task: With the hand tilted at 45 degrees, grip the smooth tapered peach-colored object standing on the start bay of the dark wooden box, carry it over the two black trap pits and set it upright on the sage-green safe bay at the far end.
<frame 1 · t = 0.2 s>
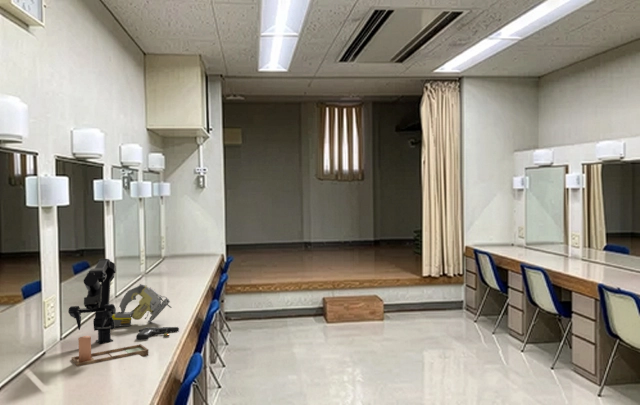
hand: (90, 328, 220), 14 cm above the counter, tool tilted 35°, fingers open, 9 cm apart
smooth tapered peach-colored object: (85, 360, 216), point 1 cm above the counter, touching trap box
circular saw: (141, 323, 285), on the counter
pistol: (157, 336, 260), on the counter
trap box: (110, 359, 223), on the counter
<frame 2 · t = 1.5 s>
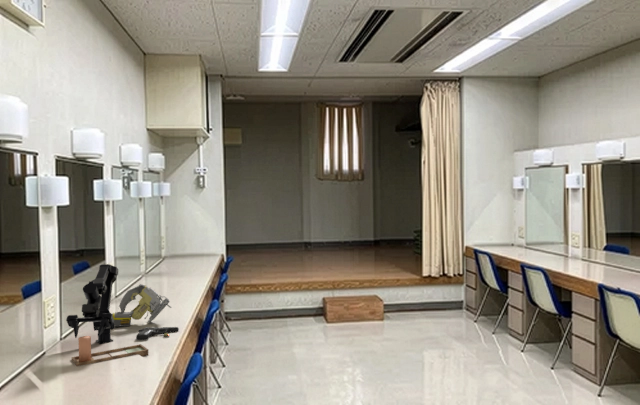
hand: (87, 336, 220), 11 cm above the counter, tool tilted 45°, fingers open, 9 cm apart
nothing on the counter moved.
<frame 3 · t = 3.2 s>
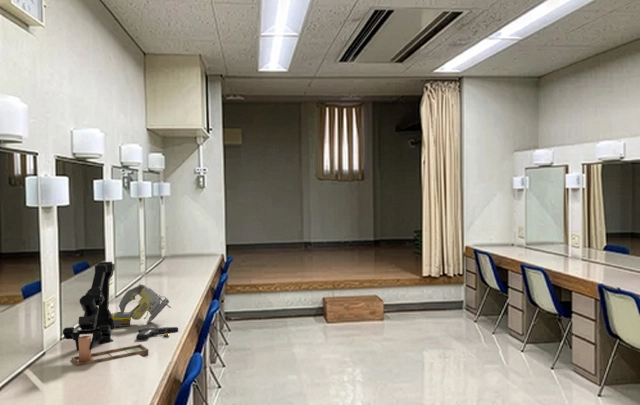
hand: (83, 349, 215), 7 cm above the counter, tool tilted 45°, fingers closed on smooth tapered peach-colored object, 5 cm apart
smooth tapered peach-colored object: (85, 360, 216), point 2 cm above the counter, touching gripper, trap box
everything else where it was.
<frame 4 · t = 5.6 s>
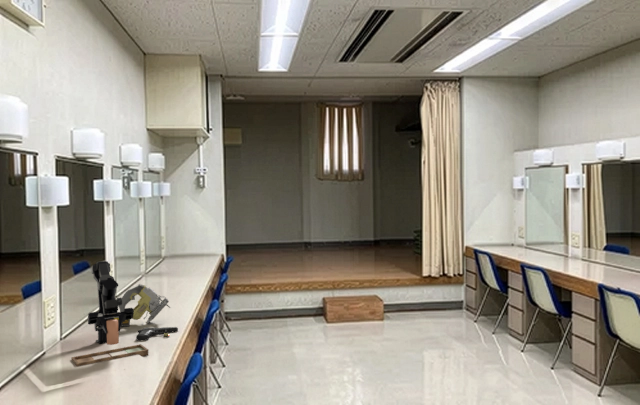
hand: (113, 332, 220), 12 cm above the counter, tool tilted 45°, fingers closed on smooth tapered peach-colored object, 5 cm apart
smooth tapered peach-colored object: (112, 343, 221), point 7 cm above the counter, touching gripper
everything else where it was.
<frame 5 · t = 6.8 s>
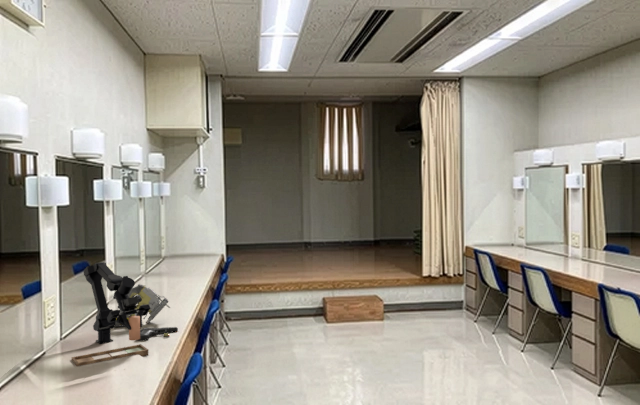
hand: (136, 328, 228), 12 cm above the counter, tool tilted 45°, fingers closed on smooth tapered peach-colored object, 5 cm apart
smooth tapered peach-colored object: (134, 338, 229), point 7 cm above the counter, touching gripper
everything else where it was.
when the fingers open (8 cm above the counter, at t = 8.0 s): smooth tapered peach-colored object drops 1 cm, resting on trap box.
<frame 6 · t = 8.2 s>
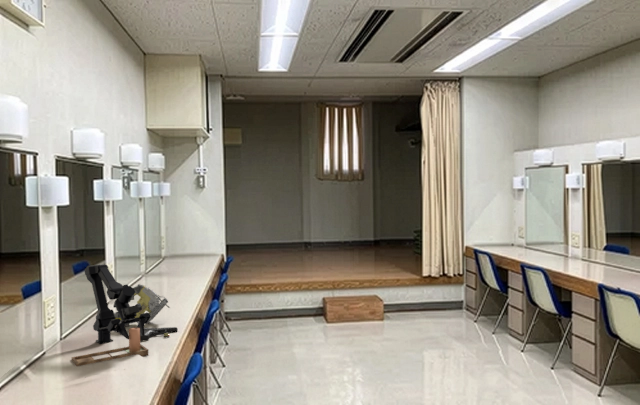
hand: (136, 337, 228), 8 cm above the counter, tool tilted 45°, fingers open, 7 cm apart
smooth tapered peach-colored object: (134, 350, 229), point 2 cm above the counter, touching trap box
everything else where it was.
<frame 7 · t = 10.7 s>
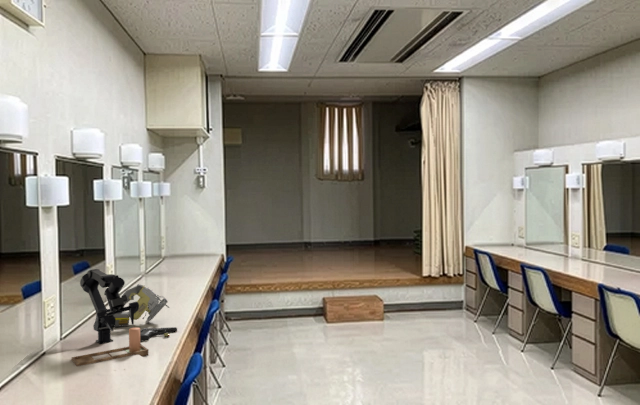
hand: (122, 327, 233), 11 cm above the counter, tool tilted 40°, fingers open, 9 cm apart
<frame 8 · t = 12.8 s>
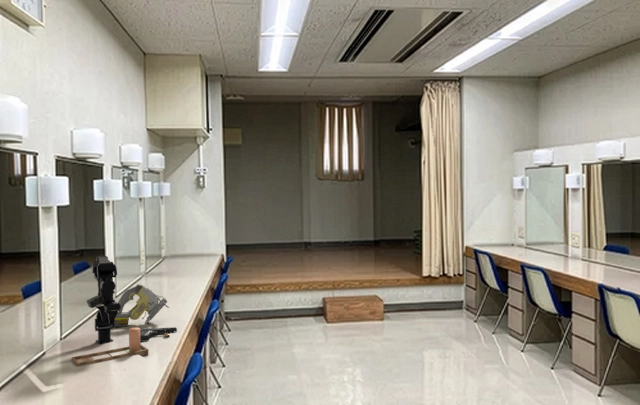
hand: (107, 322, 235), 13 cm above the counter, tool pointing down, fingers open, 9 cm apart
at the end: smooth tapered peach-colored object inside the target area on the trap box (0.3 cm from its centre), point 1.5 cm above the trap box's base; smooth tapered peach-colored object tilted 0°; the gripper is holding nothing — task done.
